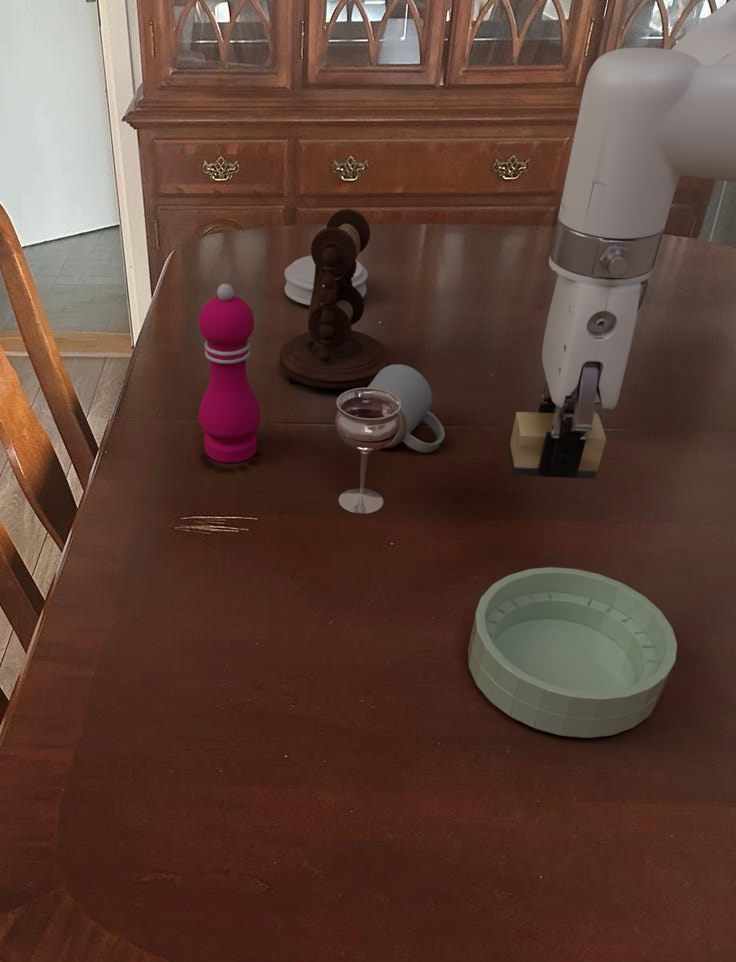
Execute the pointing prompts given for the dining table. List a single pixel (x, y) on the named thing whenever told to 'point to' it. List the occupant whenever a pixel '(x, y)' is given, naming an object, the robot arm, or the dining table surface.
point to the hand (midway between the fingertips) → (553, 458)
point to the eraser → (531, 442)
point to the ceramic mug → (410, 405)
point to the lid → (303, 279)
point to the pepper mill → (228, 379)
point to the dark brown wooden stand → (335, 314)
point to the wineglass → (366, 436)
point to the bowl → (570, 651)
